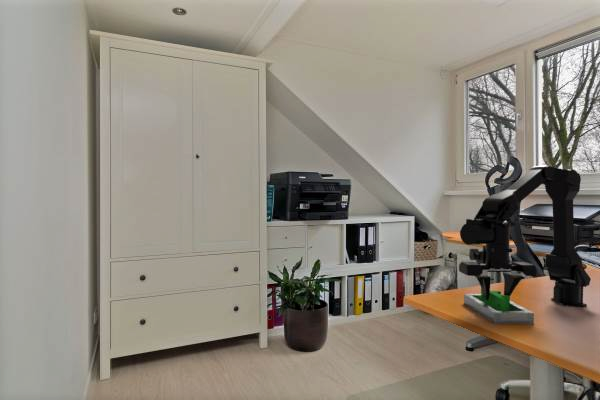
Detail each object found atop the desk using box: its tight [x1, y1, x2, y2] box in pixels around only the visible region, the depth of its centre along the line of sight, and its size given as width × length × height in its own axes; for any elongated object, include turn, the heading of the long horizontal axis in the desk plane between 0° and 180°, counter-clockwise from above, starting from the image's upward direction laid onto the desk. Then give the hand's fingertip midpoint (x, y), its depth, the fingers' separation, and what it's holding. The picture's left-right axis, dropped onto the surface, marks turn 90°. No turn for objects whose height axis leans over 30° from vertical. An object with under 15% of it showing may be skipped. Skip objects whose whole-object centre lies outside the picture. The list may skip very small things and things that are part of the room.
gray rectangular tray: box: [463, 293, 535, 325], centre depth 101 cm, size 10×17×3 cm, turn 0°
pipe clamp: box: [480, 288, 511, 311], centre depth 101 cm, size 11×4×5 cm, turn 0°
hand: (496, 299), depth 101 cm, fingers open, 5 cm apart
